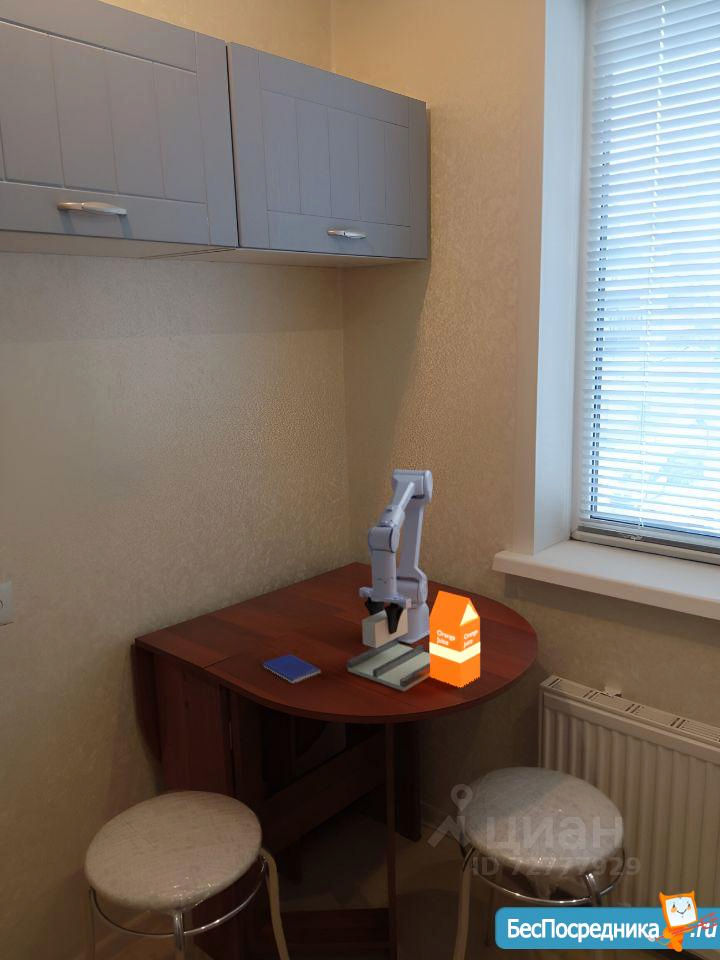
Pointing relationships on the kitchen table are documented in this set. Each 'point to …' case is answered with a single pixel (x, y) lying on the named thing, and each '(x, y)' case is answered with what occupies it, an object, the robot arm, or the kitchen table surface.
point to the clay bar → (382, 629)
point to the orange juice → (454, 640)
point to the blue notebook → (291, 668)
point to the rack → (393, 665)
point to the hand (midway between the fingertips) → (385, 630)
